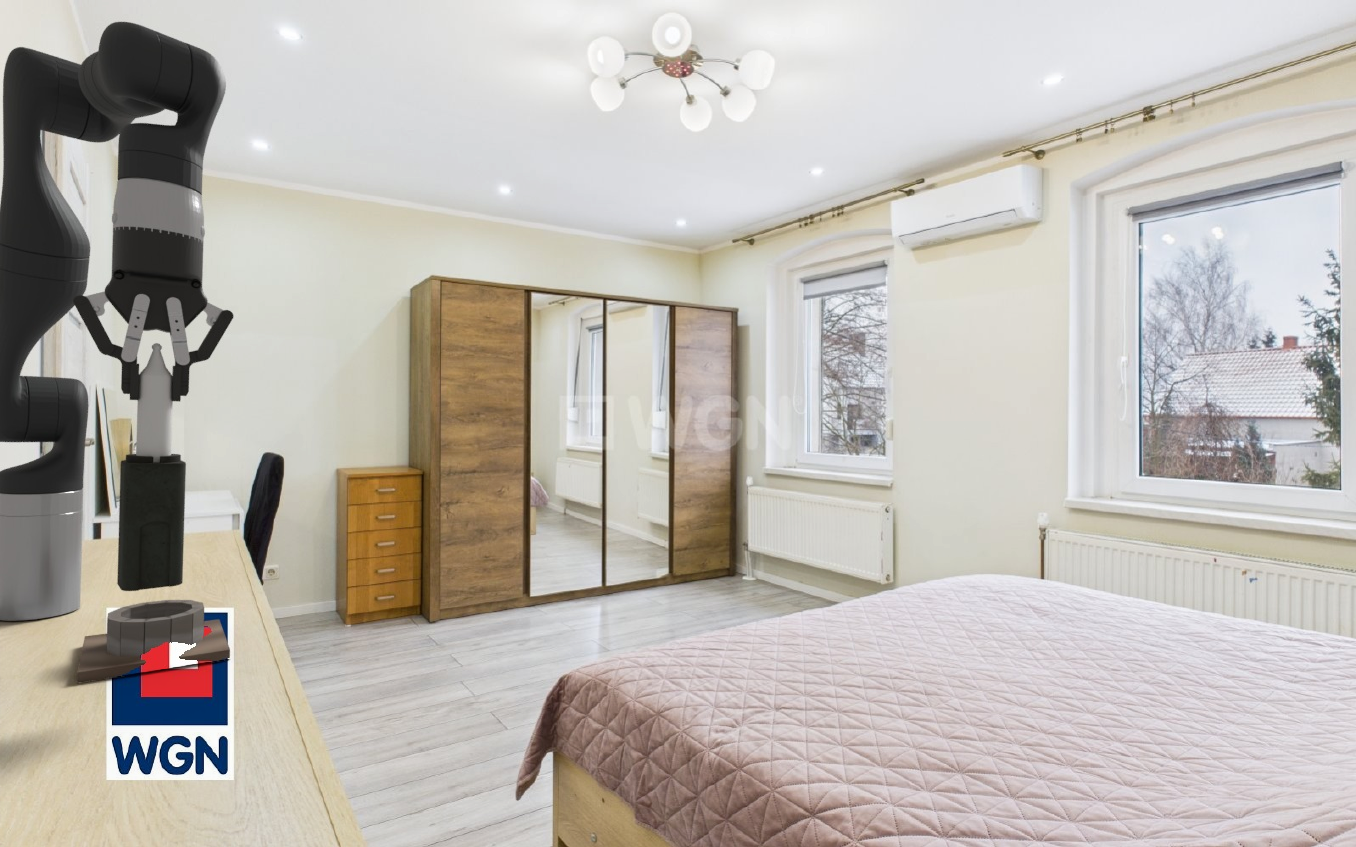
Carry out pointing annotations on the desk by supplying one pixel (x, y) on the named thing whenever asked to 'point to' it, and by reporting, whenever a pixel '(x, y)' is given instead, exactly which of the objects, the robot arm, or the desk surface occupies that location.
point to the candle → (152, 490)
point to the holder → (149, 637)
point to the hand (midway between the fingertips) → (154, 399)
